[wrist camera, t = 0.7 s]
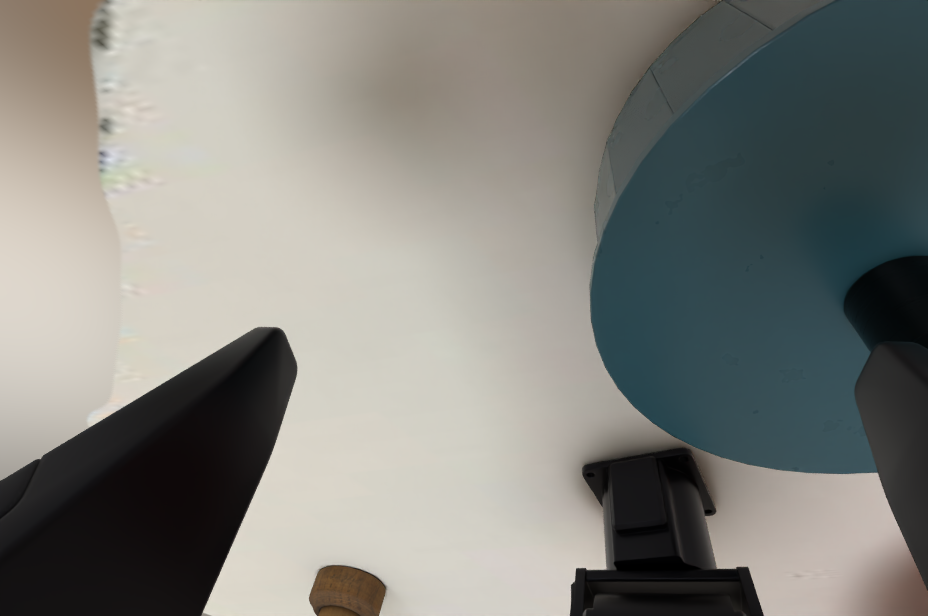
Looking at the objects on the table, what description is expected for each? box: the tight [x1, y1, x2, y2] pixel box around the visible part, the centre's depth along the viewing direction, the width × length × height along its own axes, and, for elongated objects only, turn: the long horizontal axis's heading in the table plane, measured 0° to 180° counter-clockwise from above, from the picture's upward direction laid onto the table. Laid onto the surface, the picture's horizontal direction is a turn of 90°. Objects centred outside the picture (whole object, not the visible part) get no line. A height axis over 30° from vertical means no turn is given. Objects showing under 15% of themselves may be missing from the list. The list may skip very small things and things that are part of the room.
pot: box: [594, 0, 822, 242], centre depth 17 cm, size 15×16×6 cm
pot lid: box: [590, 0, 928, 474], centre depth 13 cm, size 16×16×5 cm
